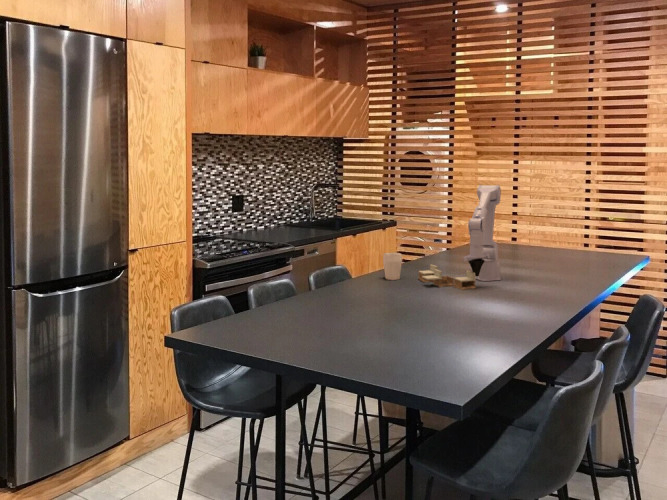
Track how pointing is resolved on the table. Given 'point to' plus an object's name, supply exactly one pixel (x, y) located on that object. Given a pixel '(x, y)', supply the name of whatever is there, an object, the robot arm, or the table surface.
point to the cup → (392, 265)
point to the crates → (449, 282)
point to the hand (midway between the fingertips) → (476, 275)
